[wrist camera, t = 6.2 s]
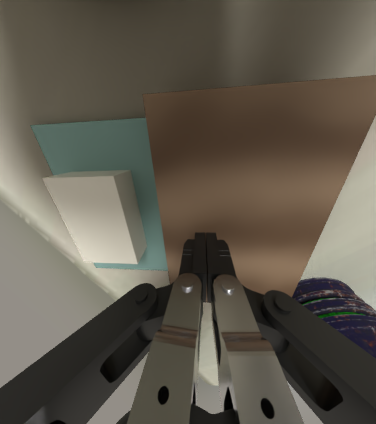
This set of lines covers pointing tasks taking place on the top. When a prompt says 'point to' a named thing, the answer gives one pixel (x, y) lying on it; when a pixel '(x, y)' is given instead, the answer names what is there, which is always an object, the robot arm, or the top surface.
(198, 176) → the brown wooden block
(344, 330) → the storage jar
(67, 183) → the off-white foam block
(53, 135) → the mat
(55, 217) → the top surface
